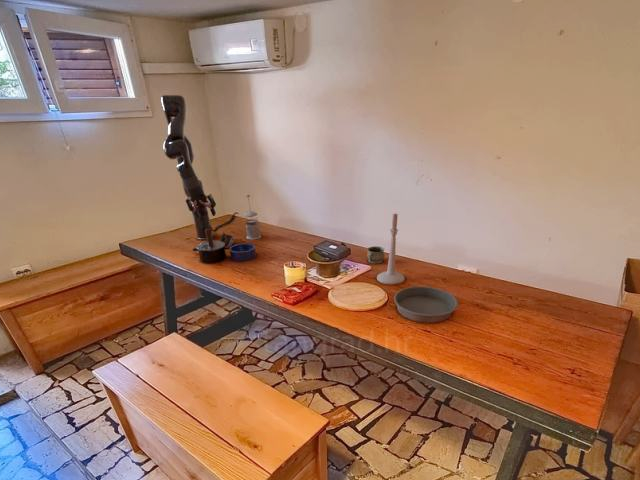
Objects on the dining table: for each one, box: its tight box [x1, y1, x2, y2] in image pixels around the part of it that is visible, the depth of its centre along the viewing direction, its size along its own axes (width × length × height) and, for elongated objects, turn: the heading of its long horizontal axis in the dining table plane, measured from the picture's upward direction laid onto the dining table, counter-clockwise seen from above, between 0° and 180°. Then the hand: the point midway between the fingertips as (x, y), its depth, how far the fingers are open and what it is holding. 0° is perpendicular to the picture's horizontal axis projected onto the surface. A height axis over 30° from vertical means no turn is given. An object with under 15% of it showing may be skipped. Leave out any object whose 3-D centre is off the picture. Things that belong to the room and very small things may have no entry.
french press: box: [243, 194, 262, 240], centre depth 220 cm, size 10×12×25 cm
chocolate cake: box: [219, 230, 235, 247], centre depth 216 cm, size 10×7×12 cm
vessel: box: [366, 245, 385, 264], centre depth 189 cm, size 12×9×6 cm
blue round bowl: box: [228, 243, 257, 262], centre depth 199 cm, size 14×14×5 cm
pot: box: [192, 246, 231, 265], centre depth 196 cm, size 14×19×7 cm
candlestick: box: [376, 213, 405, 285], centre depth 164 cm, size 13×13×30 cm
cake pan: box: [393, 285, 459, 324], centre depth 146 cm, size 25×25×4 cm
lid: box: [196, 229, 225, 251], centre depth 192 cm, size 15×15×10 cm
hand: (207, 216), depth 190 cm, fingers open, 8 cm apart
